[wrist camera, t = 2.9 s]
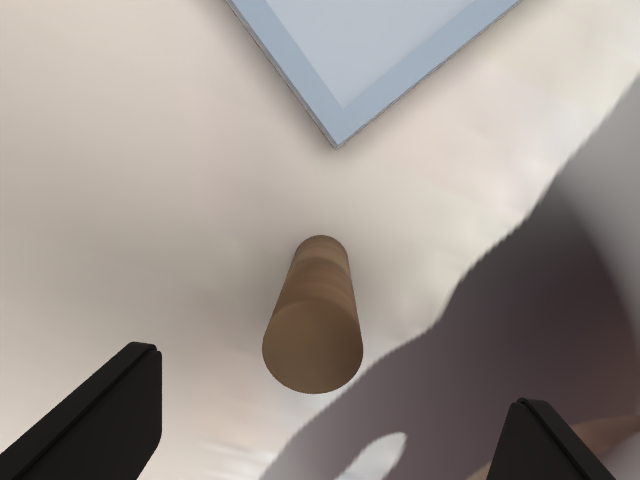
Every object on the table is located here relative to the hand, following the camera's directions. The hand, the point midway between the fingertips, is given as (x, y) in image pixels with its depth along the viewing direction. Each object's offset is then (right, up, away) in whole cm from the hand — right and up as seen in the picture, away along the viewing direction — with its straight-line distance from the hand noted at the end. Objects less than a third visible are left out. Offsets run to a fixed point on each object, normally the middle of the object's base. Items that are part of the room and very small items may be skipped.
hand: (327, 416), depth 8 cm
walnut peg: (0, +3, +12) cm, 13 cm away
